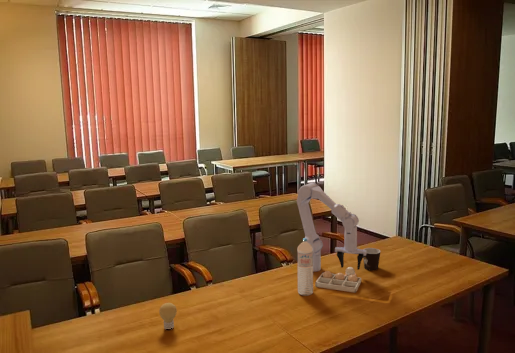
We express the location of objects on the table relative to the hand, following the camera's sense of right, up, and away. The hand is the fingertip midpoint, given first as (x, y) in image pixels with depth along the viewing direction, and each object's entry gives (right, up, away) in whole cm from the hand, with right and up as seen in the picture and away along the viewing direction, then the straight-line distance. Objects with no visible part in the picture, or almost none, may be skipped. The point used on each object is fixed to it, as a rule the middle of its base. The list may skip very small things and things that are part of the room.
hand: (350, 267), depth 208 cm
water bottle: (-23, -8, -14) cm, 28 cm away
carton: (-7, -7, -8) cm, 13 cm away
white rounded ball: (0, -4, +1) cm, 4 cm away
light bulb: (-78, -15, -41) cm, 89 cm away
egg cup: (0, -5, +1) cm, 5 cm away
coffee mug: (+12, -3, +12) cm, 17 cm away
